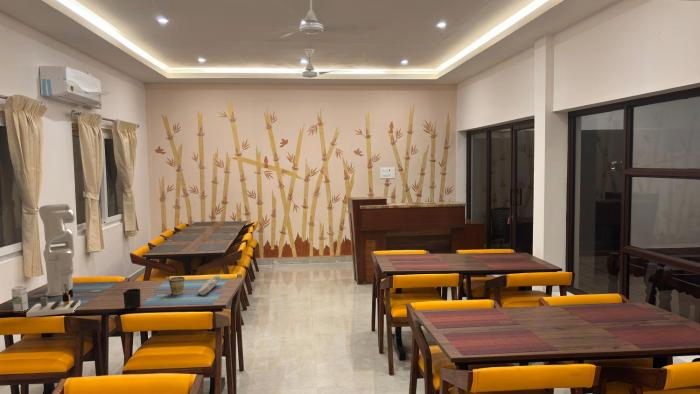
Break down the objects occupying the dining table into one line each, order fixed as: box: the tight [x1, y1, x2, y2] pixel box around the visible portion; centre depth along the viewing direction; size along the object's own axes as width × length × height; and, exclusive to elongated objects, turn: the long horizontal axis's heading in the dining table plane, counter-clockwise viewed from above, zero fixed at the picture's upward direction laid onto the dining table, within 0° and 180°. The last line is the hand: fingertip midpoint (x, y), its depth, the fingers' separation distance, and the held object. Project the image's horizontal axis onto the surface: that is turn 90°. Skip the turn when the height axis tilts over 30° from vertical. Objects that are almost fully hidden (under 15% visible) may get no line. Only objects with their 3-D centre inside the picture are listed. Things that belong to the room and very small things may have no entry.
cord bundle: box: [51, 297, 80, 310], centre depth 300 cm, size 15×12×2 cm
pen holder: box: [122, 288, 142, 310], centre depth 302 cm, size 9×9×10 cm
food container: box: [196, 274, 221, 296], centre depth 338 cm, size 12×30×6 cm, turn 0°
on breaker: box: [40, 296, 49, 306], centre depth 300 cm, size 2×3×4 cm
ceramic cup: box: [168, 276, 186, 296], centre depth 332 cm, size 13×10×10 cm
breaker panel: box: [25, 299, 82, 318], centre depth 299 cm, size 18×24×3 cm
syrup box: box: [10, 285, 29, 312], centre depth 298 cm, size 6×6×14 cm
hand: (68, 299), depth 306 cm, fingers open, 9 cm apart
